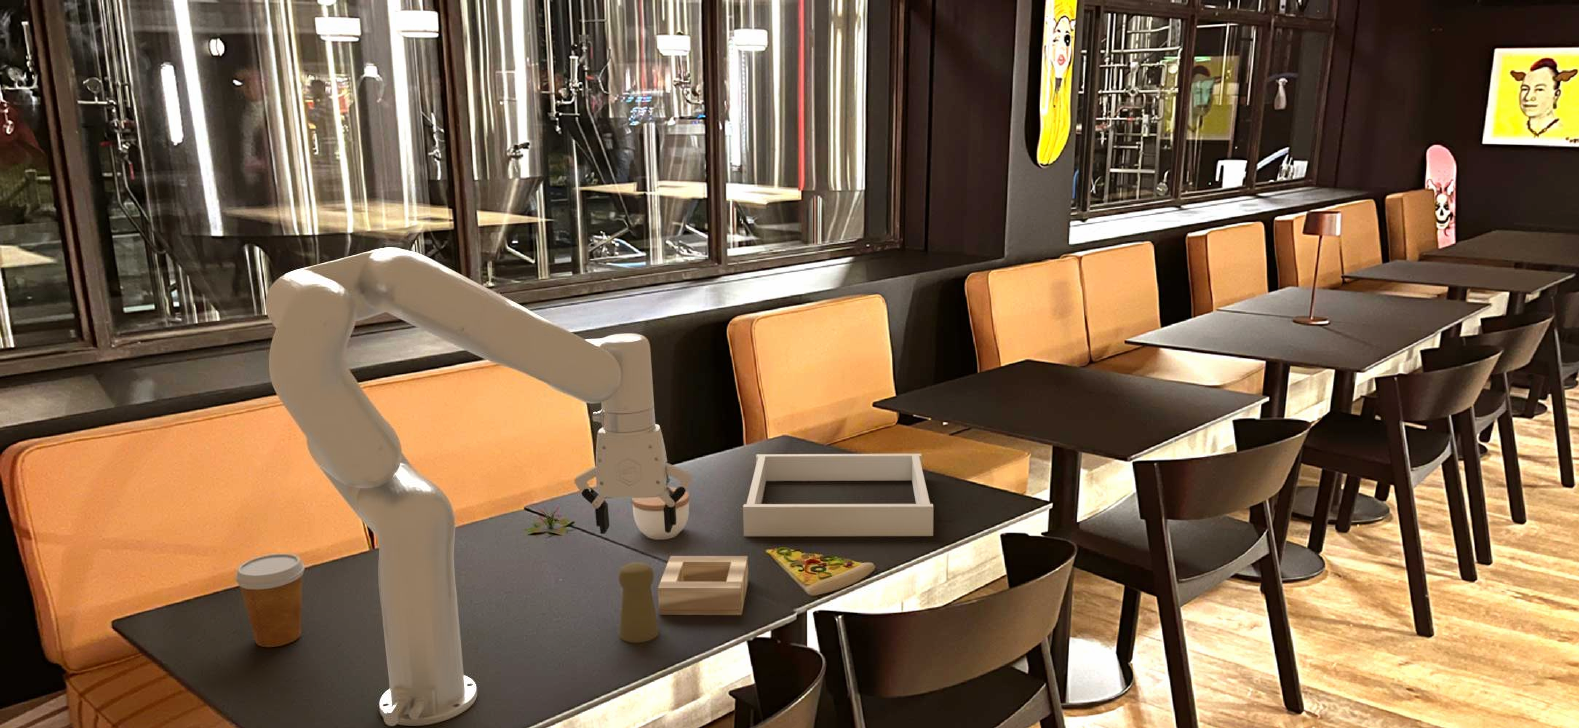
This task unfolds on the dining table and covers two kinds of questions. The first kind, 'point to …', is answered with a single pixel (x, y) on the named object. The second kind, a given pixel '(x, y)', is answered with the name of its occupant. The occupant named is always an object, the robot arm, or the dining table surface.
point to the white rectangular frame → (838, 516)
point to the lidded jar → (659, 516)
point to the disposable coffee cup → (273, 597)
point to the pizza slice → (820, 570)
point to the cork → (637, 604)
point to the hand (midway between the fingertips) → (637, 529)
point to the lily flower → (550, 524)
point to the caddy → (703, 585)
